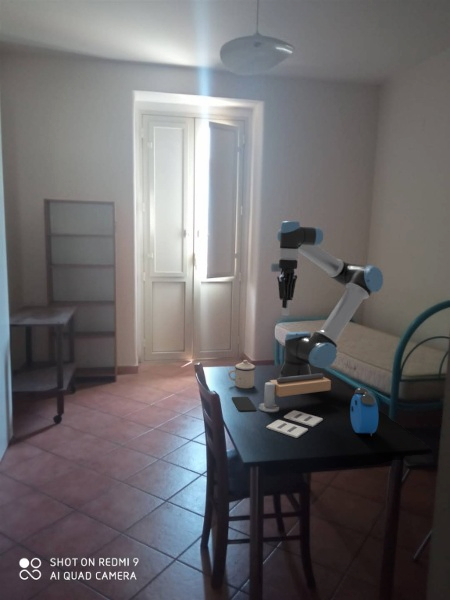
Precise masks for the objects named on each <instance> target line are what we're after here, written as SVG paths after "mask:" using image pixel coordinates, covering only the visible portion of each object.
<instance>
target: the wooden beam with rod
mask: <svg viewBox="0 0 450 600" xmlns="http://www.w3.org/2000/svg"><path fill="white" fill-rule="evenodd" d="M331 384H332V380H330V379H329V378H327V377H325V375H324V373H321V372H320V373H313V374H312V373H311V374H310V375H301V376H292V377H283V378H280V377H278V378H276V379H271V380H269V381H268V382H265V383H264V395H263V396H264V397H263V403H264V406H265V407H267V408H272V407H274V404H275V395H276V396H277V397H279V398H280V397H288V396H295V395H303V394H310V393H311V394H312V393H318V392H326V391H331V388H332V386H331Z"/></svg>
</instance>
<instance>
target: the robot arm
mask: <svg viewBox="0 0 450 600" xmlns="http://www.w3.org/2000/svg"><path fill="white" fill-rule="evenodd" d="M300 224H301V223H300V221H297V220H296V221H295V220H284V221H282V222H281V224H280V225H281V226H280V229H279V230H278V232H277V240H278V242H279V251H278V252H279V261H278V268H280V269H281V271H280V275H278V276H276V280H277V283H278V297H279V299H280V301H282V303H281V305H282V306H281V316H285V317H288V316H290V305H291V301H293V299H294V293H295V287H296V282H297V279H298V275H297V274H295V270H297V268H298V260H297V259H299V258H298V257H299V254H301V255H302V256H303V257H305V258H306V259H308V260H309V261H311V262H312V263H314V264H315V265H316V266H318V267H319V268H321V269H322V270H324V272H326V273H327V276H328V277H330V278H331V279H333V280H334V281H335V282H337V283H338V284H340V285H342V286H343V287H345V288H346V290H345V291H344V293H343V294H342V296H341V298H340V299H339V300H338V302H337V304H336V305H335V307H334V308H333V310H332V311H331V313H330V314H329V316H328V317H327V319H326V320H325V321H324V324H323V325H322V327H321V328H320V330H316V331H314V333H313V334H311V332H309V331H289V332H287V333H286V334H285V339H284V359H283V361H284V362H283V365H282V367H281V370H280V372H279V378H283V377H292V376H301V375H310V374H312V371H311V367H310V366H312V367H315V368H320V369H325V368H329V367H330V366H332V365H333V364H334V363H335V361H336V359H337V353H338V351H337V350H338V349H337V347H338V343H337V340H339V339H340V337H341V335H342V333H343V332H344V330H345V328H346V327H347V325H348V324H349V322H350V320H351V319H352V318H353V316H354V314H355V313H356V311H357V310H358V308H359V307H360V305H361V304H362V302H363V300H367V299H369V297H370V296H371V295H372V293H376V292H379V291H380V290H381V289H382V288H383V285H384V275H383V272H382V271H381V269H380V268H379V267H377V266H375V265H370V264H368V265H365V264H354V263H349V262H346V261H343V260H342V259H340V258H336V257H334V256H333V255H332V254H330V253H329V252H327V251H326V250H325V249H323V248H322V247H321V246H320V244H321V243H322V242H323V240H324V233H323V230H322V229H321V228H320V227H314V226H313V227H312V226H310V227H309V226H301V225H300Z"/></svg>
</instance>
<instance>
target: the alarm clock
mask: <svg viewBox="0 0 450 600" xmlns="http://www.w3.org/2000/svg"><path fill="white" fill-rule="evenodd" d="M349 413H350V422H351V426H352V429H353V431H354V432H355V433H357V434H370V437H372V436H373V434H374V433H375V432H376V431H377V430H378V425H379V408H378V403H377V400H376V397H375V396H374V395H373V394H371V393H370V391H369V390H368V389H367V388H366V387H362V386H361V387H358V388H357V389H355V391H354V395H353V396H352V398H351V401H350V411H349Z"/></svg>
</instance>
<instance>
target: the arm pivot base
mask: <svg viewBox="0 0 450 600" xmlns="http://www.w3.org/2000/svg"><path fill="white" fill-rule="evenodd" d="M258 410H260V412H264V413H270V414H272V413H276V412H279V411H280V406H279V405H278V404H276V403H274V407H272V408H267V407H265V406H264V402H263V403H259V404H258Z"/></svg>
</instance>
